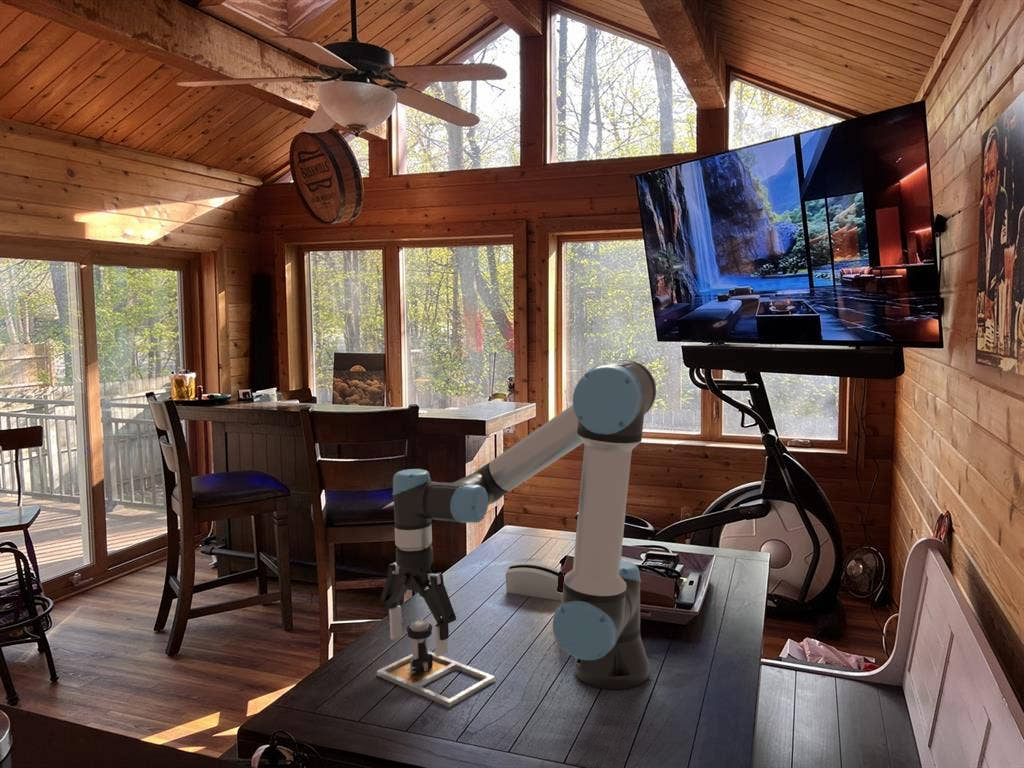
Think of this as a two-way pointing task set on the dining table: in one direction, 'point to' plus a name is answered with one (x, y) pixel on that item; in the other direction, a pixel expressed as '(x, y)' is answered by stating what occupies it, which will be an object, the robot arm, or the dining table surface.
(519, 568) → the white rounded block
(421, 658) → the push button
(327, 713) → the dining table surface
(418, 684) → the white divided frame
